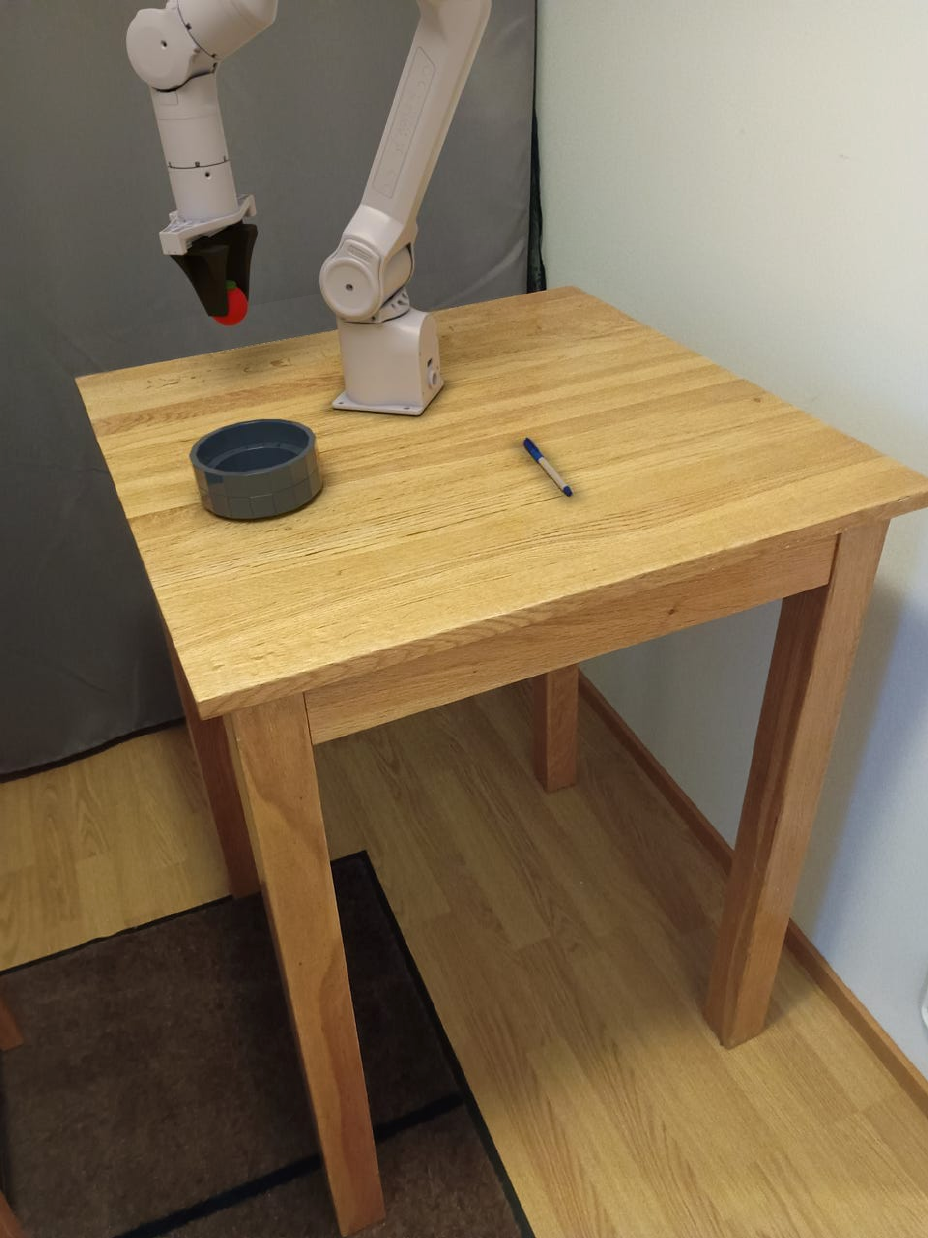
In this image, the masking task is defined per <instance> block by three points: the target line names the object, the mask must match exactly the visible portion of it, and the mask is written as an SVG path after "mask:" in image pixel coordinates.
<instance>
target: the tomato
mask: <svg viewBox="0 0 928 1238" xmlns="http://www.w3.org/2000/svg"><path fill="white" fill-rule="evenodd" d="M226 284H227V292H228V300H229V315H228V316H226V317H211V318H212V319H213V320H214V321H215V322H216V323H219V324H220V325H223V326H228V327H229V326H235V325H237V324H240V323H241V322H242V321H243V320H244V319H245V318H246V316H247V314H248V309H249V302H247V299H246V297H245V295H244V293H243V292H242V291H241V290H240V289H239V288H237V287H236V283H235V282H234V281H231V280H226Z"/></svg>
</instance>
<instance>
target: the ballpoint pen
mask: <svg viewBox="0 0 928 1238" xmlns="http://www.w3.org/2000/svg"><path fill="white" fill-rule="evenodd" d="M522 444H523V446H524V448H525V449H526V450H527V452H528V453H529V454H530V455H531V456H532V458H534V460H535V462H537V463H538V464H539V465H540V466H541V467H542V468H543V469H544V470H545V472H546V473H547V474H548V475H549V476H550V477H551V479H552V481H554V482H555V483H556V485H557V486H558V487H559V489H560V490H561V491H562V492H563V493H565V495H567V496H572V495H573V491H572V489H571V487H570V486H569V485H568V484H567V483H566V481H565V480H564V479H563V478H562V477H561V475H560V474H559V473H558V472H557V470H555V469H554V467H553V466H552V465H551V464H550V463H549V461H548V460H547V459H546V457H545V456H544V455H543V454H542V452H541V451H540V449H539V448H538V446H537V445H536V443H535V442H533V441H532V440H531V439H530V438H529V437H525V438H524V440H523V441H522Z"/></svg>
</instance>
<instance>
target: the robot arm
mask: <svg viewBox="0 0 928 1238" xmlns="http://www.w3.org/2000/svg"><path fill="white" fill-rule="evenodd" d="M415 3H416V4H417V6H418V9H419V13H420V18H419V21H418V24H417V27H416V29H415V33H414V36H413V38H412V42H411V45H410V48H409V52H408V54H407V58H406V61H405V64H404V68H403V69H402V73H401V76H400V79H399V81H398V86H397V88H396V92H395V95H394V98H393V101H392V104H391V107H390V111H389V114H388V117H387V120H386V122H385V126H384V128H383V129H384V130H383V132H382V135H381V139H380V142H379V144H378V148H377V151H376V154H375V157H374V160H373V163H372V167H371V169H370V173H369V175H368V179H367V182H366V184H365V185H366V186H365V188H364V192H363V195H362V198H361V201H360V204H359V206H358V208H357V209H356V211H355V212H354V214H353V215H352V217H351V219H350V220H349V222H348V224H347V225H346V227H345V229H344V231H343V233H342V235H341V239H340V241H339V244H338V246H337V247H336V249H335V250H334V252H333V253H331V254H330V255H329V256H328V257H327V258H326V259H325V260H324V262H323V263H322V265H321V268H320V271H319V276H318V285H319V289H320V293H321V296H322V298H323V300H324V302H325V303H326V305H327V306H328V307H329V309H330V310H331V311H332V312H333V313H334V314H335V320H336V326H337V335H338V342H339V348H340V356H341V357H340V358H341V363H342V371H343V379H344V387H345V389H344V390H343V391H342V392H341V393H340V394H339V395H338V396H337V397H336V398H335V400H333V401H332V403H331V407H332V408H333V409H337V410H349V411H350V410H351V411H363V412H375V413H387V414H399V415H412V416H418V415H421V414H422V413H423V412H424V411H425V409H426V408H427V407H428V406H429V404H430V403H431V402H432V400H433V399H434V398H435V396H437V394H439V393H438V392H440V390H441V389H442V388H443V386H444V385H445V382H444V381H445V380H443V379H442V371H441V358H440V357H441V356H440V345H439V344H440V343H439V331H438V325H437V321H436V319H435V315H434V314H432V313H431V312H427V311H421V310H418V309H416V308H413V307H412V306H411V304H410V299H409V296H408V293H407V290H406V288H407V287H406V285H407V284H408V283H409V282H410V280H411V279H412V277H413V275H414V270H415V263H416V262H415V253H414V249H415V248H414V247H415V241H416V239H417V234H418V232H419V226H418V223H417V217H418V214H419V211H420V208H421V206H422V203H423V200H424V197H425V194H426V192H427V189H428V186H429V183H430V181H431V178H432V176H433V173H434V169H435V167H436V164H437V162H438V159H439V156H440V153H441V150H442V148H443V146H444V143H445V139H446V137H447V134H448V132H449V129H450V126H451V123H452V120H453V118H454V116H455V112H456V110H457V107H458V104H459V101H460V99H461V96H462V93H463V91H464V88H465V85H466V82H467V79H468V77H469V74H470V71H471V69H472V66H473V63H474V60H475V57H476V55H477V52H478V50H479V47H480V44H481V42H482V38H483V35H484V33H485V30H486V28H487V25H488V22H489V20H490V16H491V11H492V6H493V5H492V0H415ZM278 5H279V0H167V2H166V3H165V8H161V9H159V8H154V7H153V8H152V7H151V8H143V9H139V10H138V11H137V13H136V14H135V15H136V16H135V17H134V19H133V20H132V21H131V22H130V24H129V26H128V28H127V30H126V31H127V32H126V36H125V37H126V38H125V47H126V52H127V57H128V60H129V62H130V64H131V66H132V68H133V71H135V73H136V74H137V76H138V77H139V78H140V79H141V80H142V81H143V82H145V83H146V84H147V85H148V88H149V92H150V97H151V101H152V106H153V111H154V115H155V119H156V125H157V128H158V132H159V136H160V141H161V146H162V151H163V155H164V159H165V164H166V168H167V172H168V176H169V181H170V185H171V189H172V194H173V198H174V203H175V207H176V210H173V211H172V212H170V213H169V214H168V217H169V221H170V223H169V224H168V226H166V228H164V229H163V230H161V231H159V232H158V236H159V240H160V244H161V249H162V253H163V255H165V256H167V255H168V256H169V257H170V258H171V259H172V260H173V261H174V263H176V265H177V266H179V268H180V269H181V271H182V272H183V274H185V276H186V277H187V279H188V280H189V282H190V284H191V285H192V287H193V289H194V290H195V293H196V295H197V297H198V298H199V301H200V303H201V304H202V307H203V309H204V311H205V313H206V315H207V317H209V318H210V317H211V318H212V317H226V316H228V315H229V300H228V292H227V284H226V280H231V281H234V282H235V283H236V287H237V288H239V289H240V290H241V291H242V292H243V293H244V295H245V297H246V299H247V303H249V300H250V284H251V283H250V281H251V280H250V279H251V265H252V257H253V253H254V248H255V244H256V242H257V239H258V236H259V230H258V225H257V224H256V223H255V224H254V223H244V221H243V220H244V219H245V218H254V217H255V216H256V215H258V213H257V207H256V201H255V196H254V194H237V193H236V192H237V191H236V188H235V182H234V176H233V172H232V167H231V161H230V156H229V151H228V144H227V140H226V135H225V129H224V124H223V118H222V114H221V110H220V103H219V98H218V97H219V96H218V94H219V90H218V85H217V73H218V70H219V68H220V66H221V63H222V62H223V61H224V60H225V59H226V58H228V57H230V56H231V55H232V54H234V53H235V52H236V51H238V50H239V49H240V48H241V47H243V46H244V45H246V44H247V43H248V42H250V41H251V40H252V39H254V38H255V37H257V36H258V35H259V34H260V33H262V32H263V31H264V30H266V29H267V28H269V27H270V26H271V25H273V24H274V22H275V20H276V17H277V14H278Z"/></svg>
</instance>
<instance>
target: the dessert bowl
mask: <svg viewBox="0 0 928 1238" xmlns="http://www.w3.org/2000/svg"><path fill="white" fill-rule="evenodd" d="M188 457H189V462H190V466H191V469H192V473H193V477H194V480H195V484H196V489H197V493H198V496H199V499H200V501H201V504H202V507H204V508H205V509H207V510H208V511H210V512H211V513H213V514H215V515H218V516H220V517H225V518H229V519H247V520H248V519H252V520H253V519H260V518H261V519H262V518H266V517H273V516H279V515H281V514H284V513H287V512H290V511H293V510H296V509H298V508H299V507H301V506H303V505H304V504H306V503H308V502H309V501H311V500H312V499H313V498H315V496H317V494H318V493H319V492H320V491H321V489H322V487H323V479H324V476H323V471H322V464H321V459H320V451H319V447H318V440H317V435H316V434H315V433H314V431H313V430H312V428H311V427H309V426H307V425H305V424H303V423H301V422H299V421H294V420H289V419H284V418H258V419H257V418H256V419H250V420H242V421H238V422H234V423H231V424H227V425H225V426H221V427H219V428H216V429H215V430H212V431H210V432H208V433H206V434H205V435H203V436H202V437H200V438H199V440H197V441H196V442H195V443H194V444H192V447H191V449H190V451H189V454H188Z"/></svg>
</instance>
